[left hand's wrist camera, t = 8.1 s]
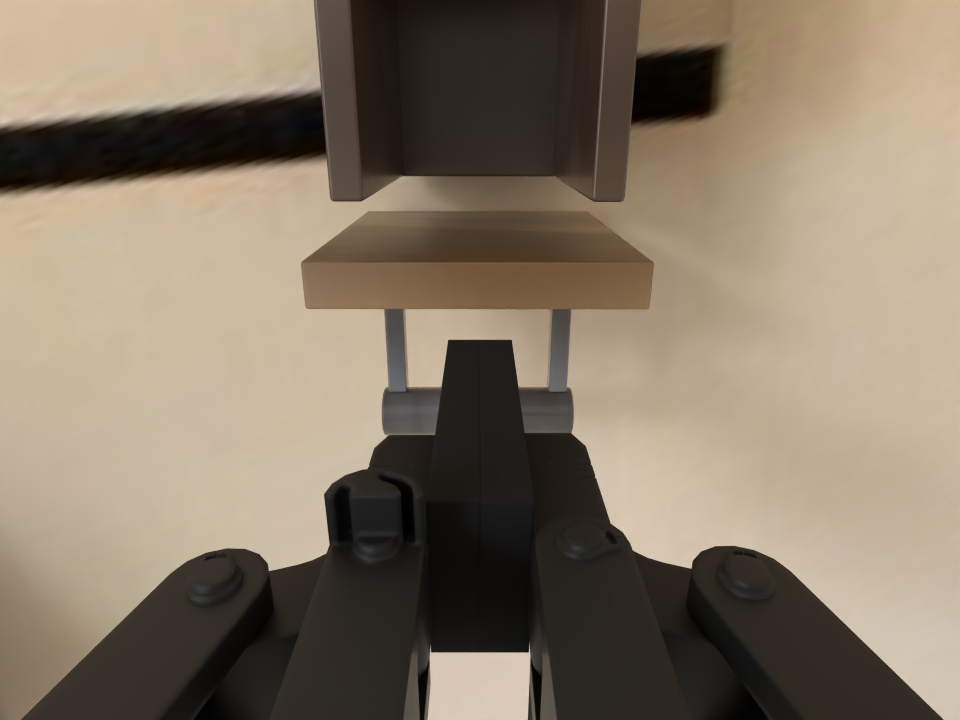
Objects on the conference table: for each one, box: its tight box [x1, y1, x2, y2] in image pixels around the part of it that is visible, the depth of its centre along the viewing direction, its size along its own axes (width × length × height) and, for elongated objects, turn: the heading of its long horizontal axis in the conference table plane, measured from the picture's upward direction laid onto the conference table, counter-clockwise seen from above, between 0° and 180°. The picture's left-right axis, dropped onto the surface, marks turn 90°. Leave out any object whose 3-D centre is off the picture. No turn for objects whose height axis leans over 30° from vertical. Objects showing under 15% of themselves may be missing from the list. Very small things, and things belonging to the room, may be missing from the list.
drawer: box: [301, 0, 654, 435], centre depth 17 cm, size 26×9×10 cm, turn 0°
